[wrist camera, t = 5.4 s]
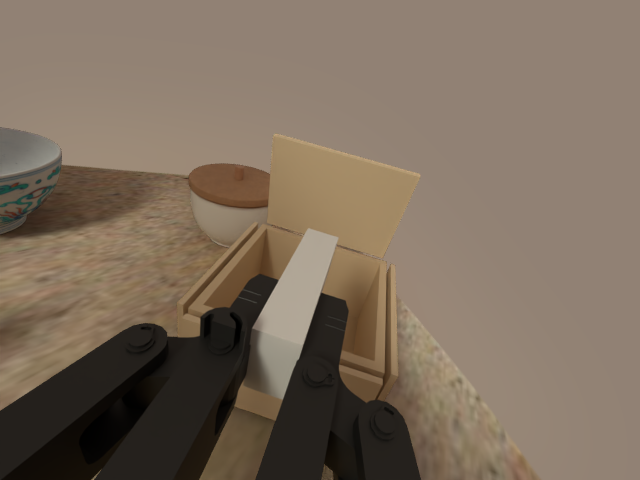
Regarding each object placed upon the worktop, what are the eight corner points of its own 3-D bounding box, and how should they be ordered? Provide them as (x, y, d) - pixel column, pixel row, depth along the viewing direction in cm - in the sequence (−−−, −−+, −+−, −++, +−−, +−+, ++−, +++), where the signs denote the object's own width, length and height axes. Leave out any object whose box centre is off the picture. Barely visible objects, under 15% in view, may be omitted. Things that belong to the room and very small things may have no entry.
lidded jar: (291, 243, 40) (304, 178, 36) (221, 270, 33) (227, 192, 28) (242, 209, 45) (248, 148, 41) (172, 226, 38) (169, 152, 33)
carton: (171, 389, 21) (167, 313, 17) (248, 280, 32) (256, 219, 28) (359, 456, 20) (398, 390, 16) (370, 319, 31) (395, 261, 28)
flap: (266, 223, 27) (273, 135, 22) (268, 219, 28) (275, 133, 22) (382, 258, 27) (420, 177, 21) (383, 254, 27) (420, 174, 21)
